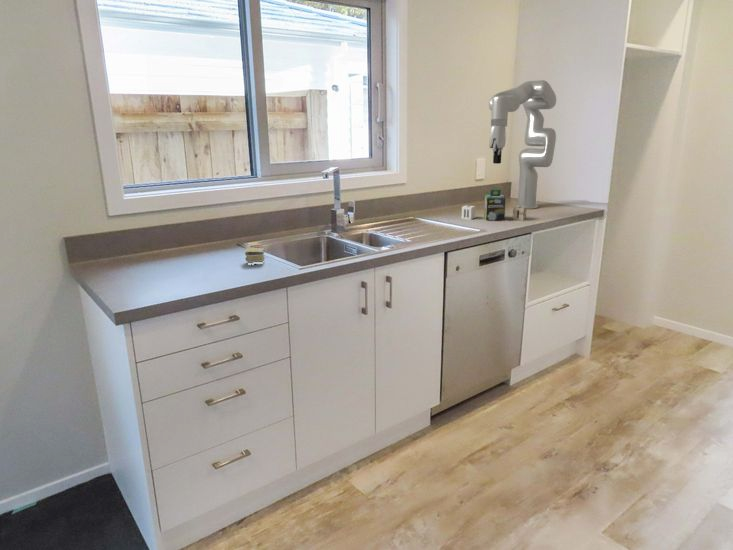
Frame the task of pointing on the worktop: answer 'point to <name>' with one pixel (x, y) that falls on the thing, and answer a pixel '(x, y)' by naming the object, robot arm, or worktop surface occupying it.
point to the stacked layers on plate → (254, 255)
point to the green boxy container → (495, 206)
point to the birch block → (519, 213)
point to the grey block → (468, 212)
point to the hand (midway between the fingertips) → (496, 163)
